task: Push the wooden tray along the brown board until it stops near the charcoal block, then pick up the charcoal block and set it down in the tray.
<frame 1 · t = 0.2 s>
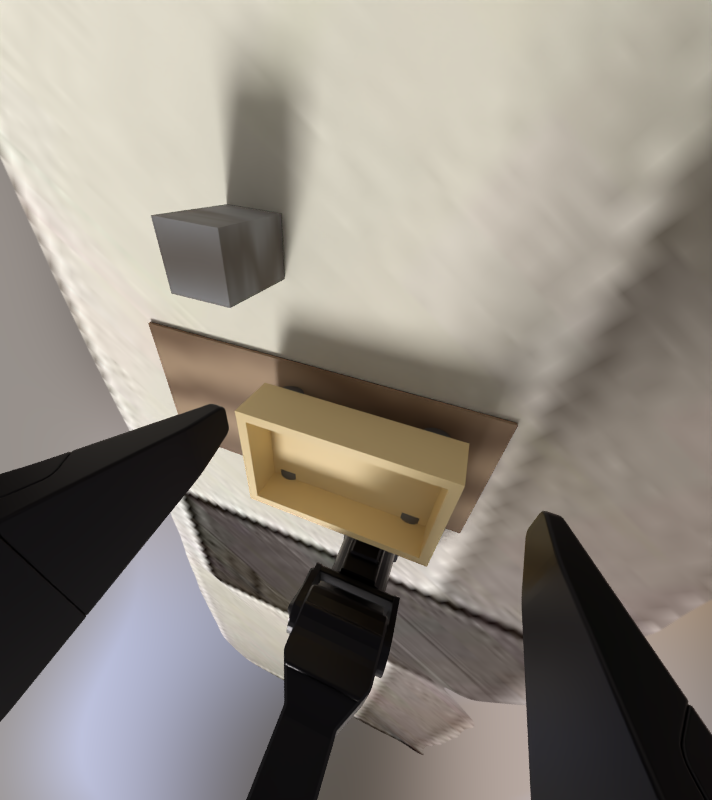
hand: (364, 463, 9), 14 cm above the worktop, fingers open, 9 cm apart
wooden tray: (348, 469, 27), point 3 cm above the worktop, slide at 0.0 cm
charcoal block: (256, 243, 22), on the worktop
brown board: (309, 429, 30), on the worktop
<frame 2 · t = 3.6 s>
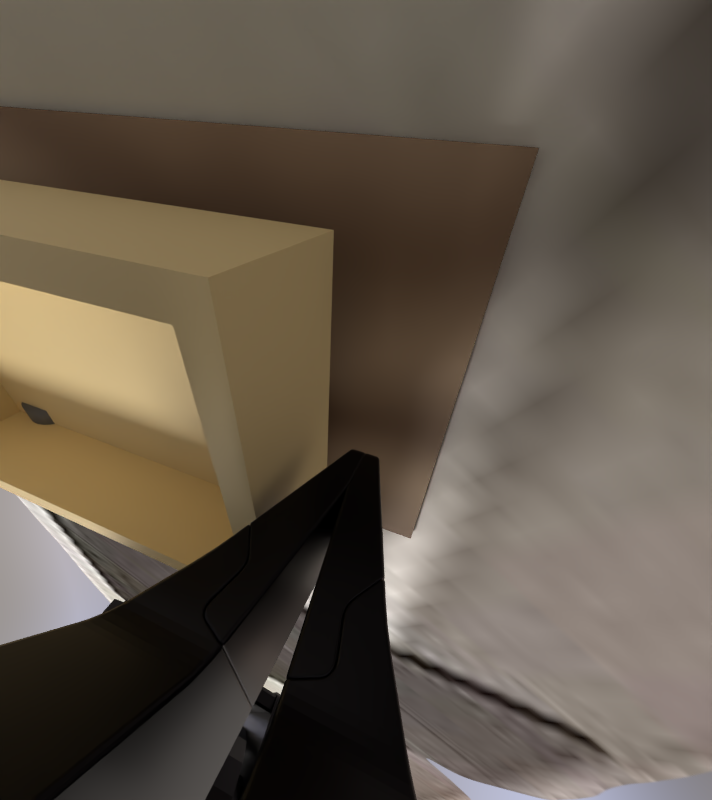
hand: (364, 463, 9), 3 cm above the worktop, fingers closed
wooden tray: (87, 375, 11), point 3 cm above the worktop, slide at 1.0 cm, touching gripper
brown board: (85, 319, 14), on the worktop
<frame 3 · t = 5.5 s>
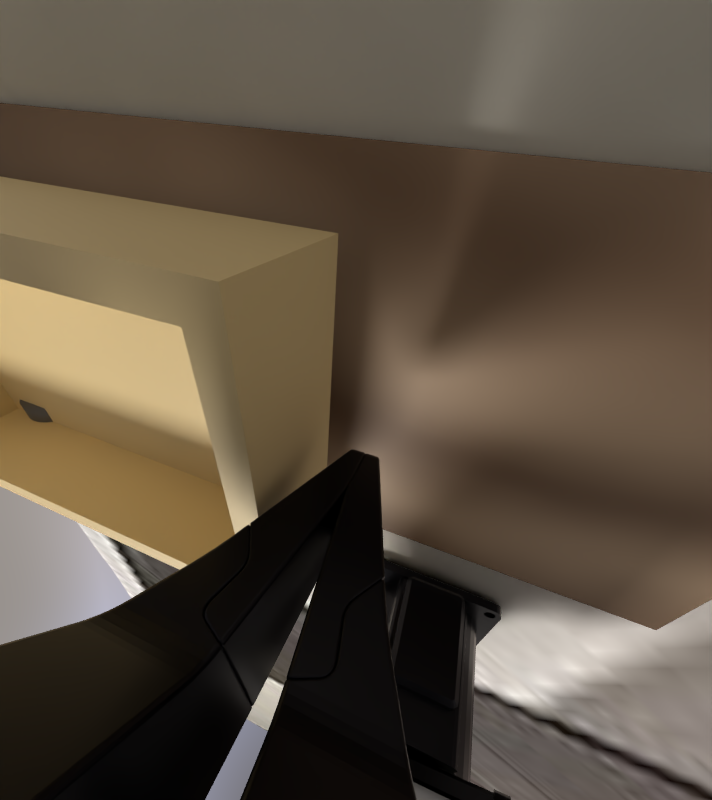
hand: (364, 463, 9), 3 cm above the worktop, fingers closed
wooden tray: (88, 373, 11), point 3 cm above the worktop, slide at 10.9 cm, touching gripper
brown board: (286, 373, 12), on the worktop
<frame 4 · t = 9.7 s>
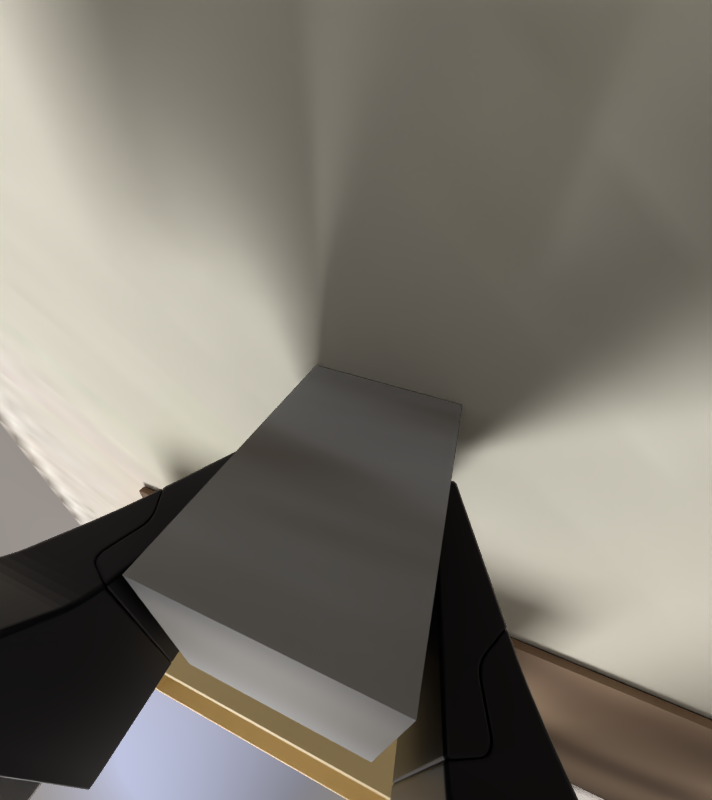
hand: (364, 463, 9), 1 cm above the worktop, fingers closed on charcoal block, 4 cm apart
wooden tray: (287, 675, 17), point 3 cm above the worktop, slide at 10.9 cm
charcoal block: (375, 438, 10), on the worktop, touching gripper
brown board: (408, 657, 18), on the worktop
when the fingers open (5 cm above the worktop, at t = 13.6 s): charcoal block drops 2 cm, resting on wooden tray.
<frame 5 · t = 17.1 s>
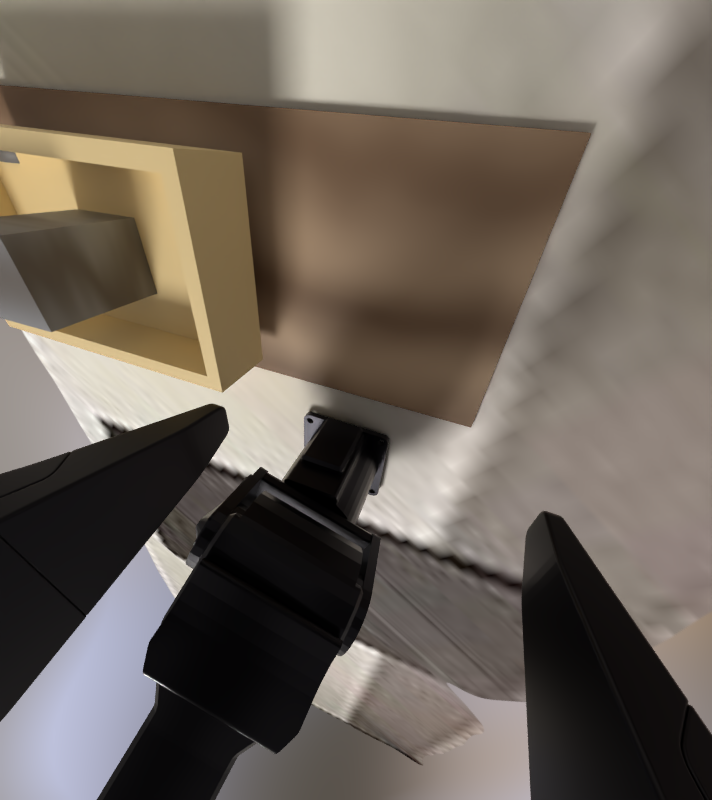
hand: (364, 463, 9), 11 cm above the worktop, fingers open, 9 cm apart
wooden tray: (112, 254, 18), point 3 cm above the worktop, slide at 10.9 cm, touching charcoal block
charcoal block: (119, 253, 19), point 3 cm above the worktop, touching wooden tray
brown board: (235, 260, 19), on the worktop
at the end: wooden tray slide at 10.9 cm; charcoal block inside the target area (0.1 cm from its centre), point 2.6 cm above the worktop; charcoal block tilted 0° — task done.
